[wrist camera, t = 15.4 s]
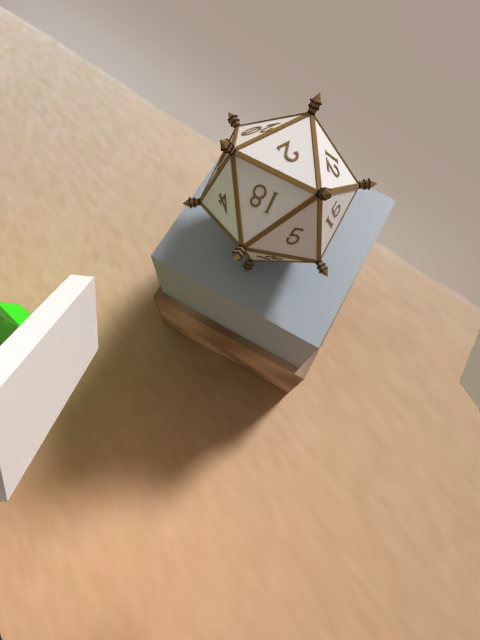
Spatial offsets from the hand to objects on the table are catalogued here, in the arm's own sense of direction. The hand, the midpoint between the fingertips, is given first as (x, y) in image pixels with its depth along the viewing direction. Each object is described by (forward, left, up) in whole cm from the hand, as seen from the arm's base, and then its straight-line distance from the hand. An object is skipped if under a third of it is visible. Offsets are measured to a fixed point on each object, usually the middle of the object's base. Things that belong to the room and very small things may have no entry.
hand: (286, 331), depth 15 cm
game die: (+4, -8, -9) cm, 13 cm away
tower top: (+3, -9, -15) cm, 18 cm away
